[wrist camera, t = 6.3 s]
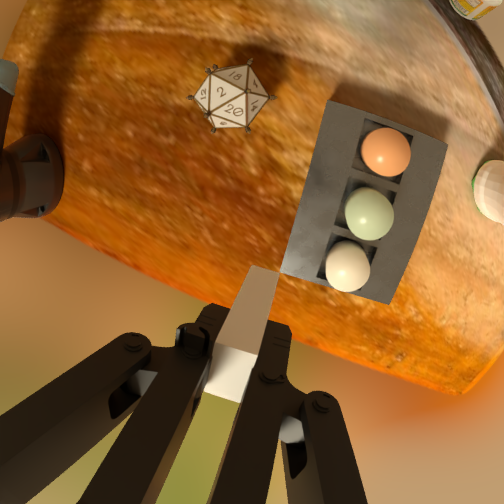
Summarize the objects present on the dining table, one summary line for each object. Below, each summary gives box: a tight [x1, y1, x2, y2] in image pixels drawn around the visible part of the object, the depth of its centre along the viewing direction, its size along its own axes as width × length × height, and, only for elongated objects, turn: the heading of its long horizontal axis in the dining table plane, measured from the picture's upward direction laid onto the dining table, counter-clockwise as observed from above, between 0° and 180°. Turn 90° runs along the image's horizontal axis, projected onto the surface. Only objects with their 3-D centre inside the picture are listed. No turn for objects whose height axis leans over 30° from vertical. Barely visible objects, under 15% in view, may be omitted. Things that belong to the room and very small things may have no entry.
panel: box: [280, 100, 448, 305], centre depth 33 cm, size 14×20×4 cm
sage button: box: [344, 187, 394, 240], centre depth 29 cm, size 5×5×3 cm
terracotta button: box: [360, 128, 411, 177], centre depth 28 cm, size 5×5×3 cm
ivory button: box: [326, 240, 370, 292], centre depth 33 cm, size 5×5×3 cm
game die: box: [186, 58, 278, 134], centre depth 30 cm, size 9×8×10 cm
